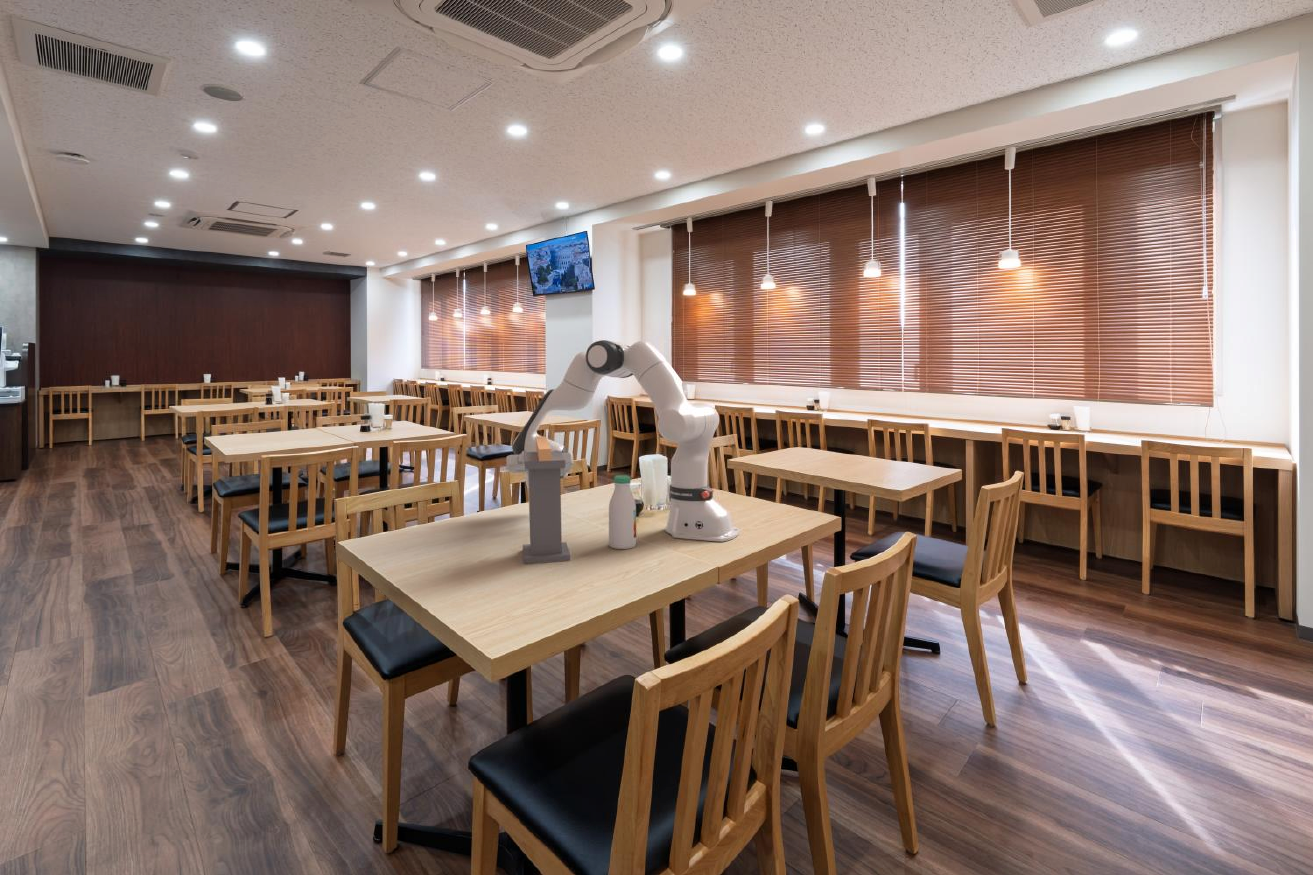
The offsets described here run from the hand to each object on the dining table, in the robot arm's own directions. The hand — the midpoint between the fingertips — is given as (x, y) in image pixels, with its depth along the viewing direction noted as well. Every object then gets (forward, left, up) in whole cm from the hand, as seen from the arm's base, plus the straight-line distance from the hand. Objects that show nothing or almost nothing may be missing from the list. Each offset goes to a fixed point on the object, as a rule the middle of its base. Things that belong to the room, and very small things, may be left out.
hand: (540, 453), depth 190 cm
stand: (-14, +17, -24) cm, 33 cm away
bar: (-11, +13, +3) cm, 17 cm away
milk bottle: (-28, 0, -25) cm, 37 cm away
